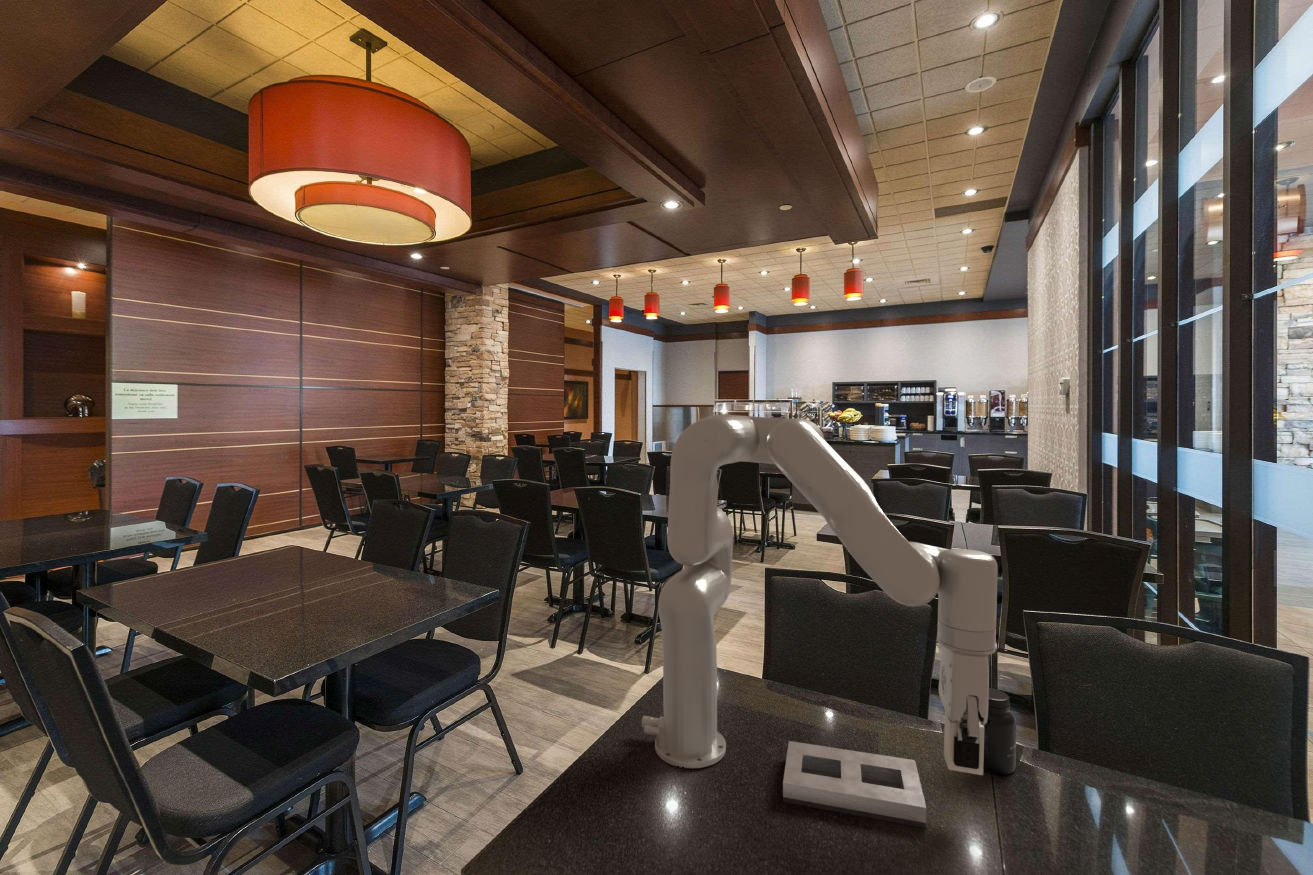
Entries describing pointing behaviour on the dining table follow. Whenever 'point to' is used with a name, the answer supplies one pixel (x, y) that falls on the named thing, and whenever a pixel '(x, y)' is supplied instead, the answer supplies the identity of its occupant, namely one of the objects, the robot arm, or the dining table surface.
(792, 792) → the socket board
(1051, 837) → the dining table surface
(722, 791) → the dining table surface
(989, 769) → the supplement bottle
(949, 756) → the plug
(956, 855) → the dining table surface
